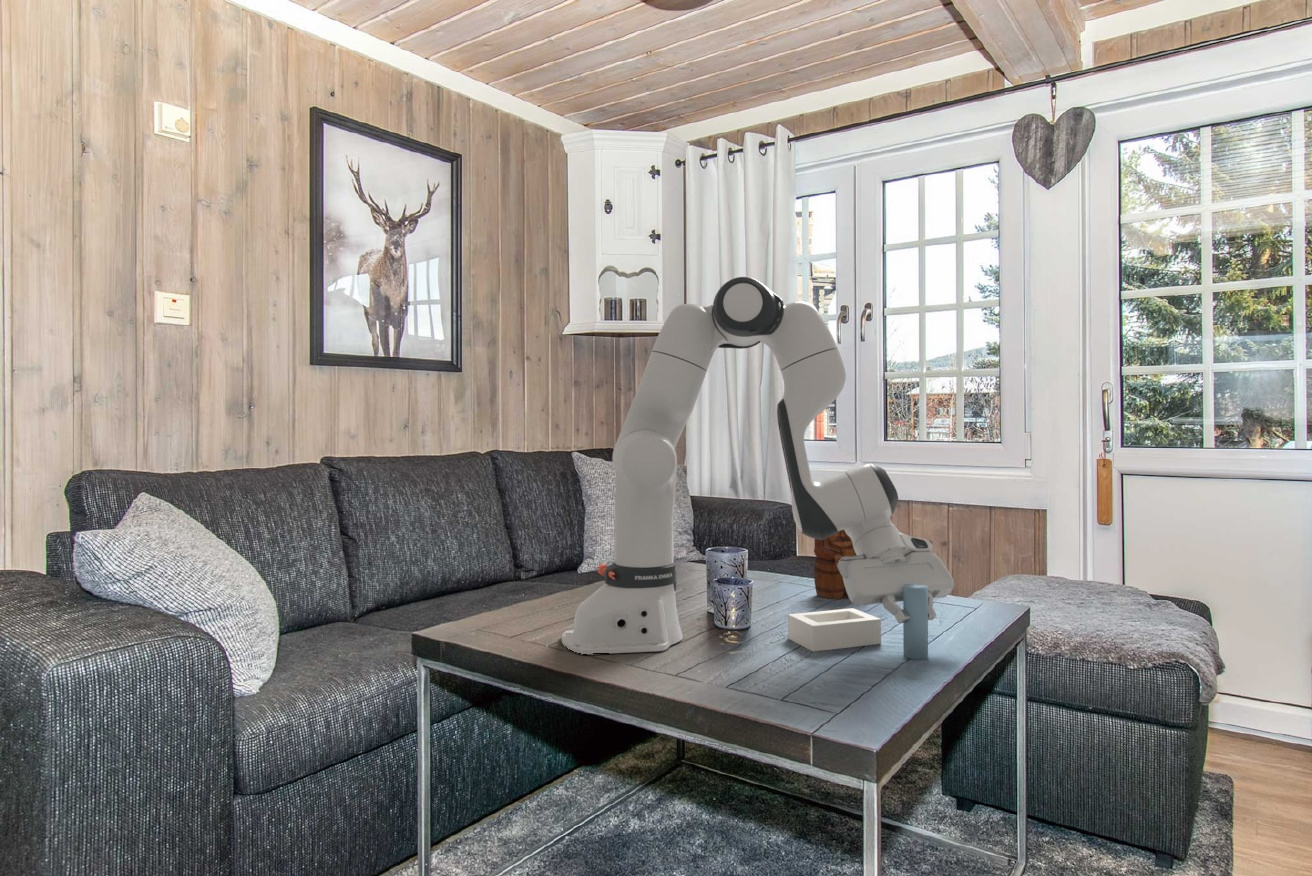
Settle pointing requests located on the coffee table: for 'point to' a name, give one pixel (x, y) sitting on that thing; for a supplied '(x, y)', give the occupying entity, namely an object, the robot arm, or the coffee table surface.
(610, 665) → the coffee table surface
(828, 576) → the wooden figurine
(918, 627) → the blue pin
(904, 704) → the coffee table surface
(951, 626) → the coffee table surface
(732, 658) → the coffee table surface
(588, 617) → the robot arm
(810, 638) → the slot block
